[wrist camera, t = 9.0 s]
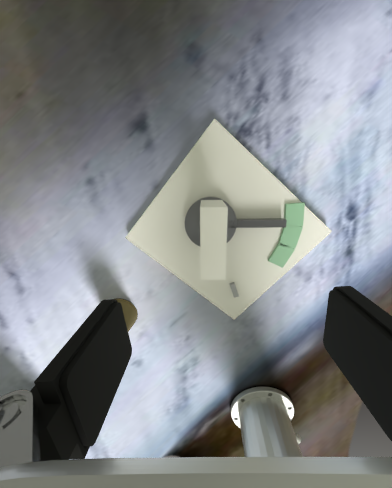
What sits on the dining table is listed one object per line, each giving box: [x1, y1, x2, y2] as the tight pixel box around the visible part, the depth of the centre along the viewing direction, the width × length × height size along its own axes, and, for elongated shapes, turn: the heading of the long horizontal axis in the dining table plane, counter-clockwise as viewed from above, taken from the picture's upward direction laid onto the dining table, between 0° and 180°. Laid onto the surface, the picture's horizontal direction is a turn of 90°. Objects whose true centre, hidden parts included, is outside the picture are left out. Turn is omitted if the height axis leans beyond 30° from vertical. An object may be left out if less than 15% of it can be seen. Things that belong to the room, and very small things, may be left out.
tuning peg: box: [185, 197, 287, 280], centre depth 23 cm, size 14×7×10 cm, turn 91°
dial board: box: [125, 119, 332, 320], centre depth 30 cm, size 22×20×2 cm
